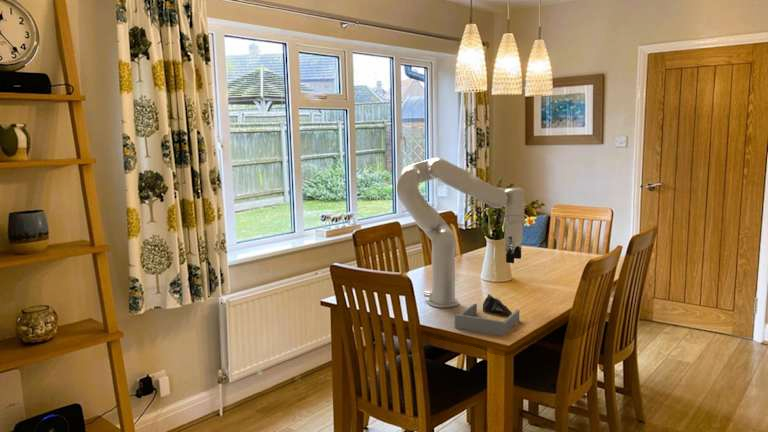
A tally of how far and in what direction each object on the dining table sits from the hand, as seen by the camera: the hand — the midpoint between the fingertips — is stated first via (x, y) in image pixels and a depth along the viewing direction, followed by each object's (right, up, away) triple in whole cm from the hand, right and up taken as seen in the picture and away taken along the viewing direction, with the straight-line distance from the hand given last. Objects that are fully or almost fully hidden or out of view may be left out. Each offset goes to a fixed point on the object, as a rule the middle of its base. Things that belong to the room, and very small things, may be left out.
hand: (513, 260), depth 236 cm
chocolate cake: (-7, -20, -9) cm, 23 cm away
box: (-14, -22, -22) cm, 34 cm away
